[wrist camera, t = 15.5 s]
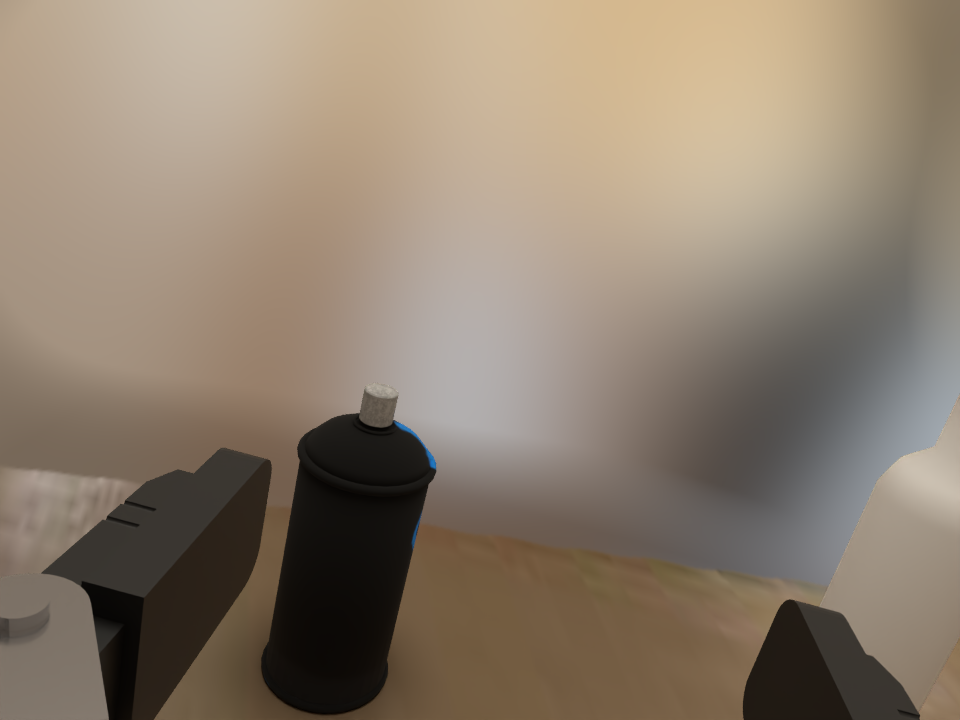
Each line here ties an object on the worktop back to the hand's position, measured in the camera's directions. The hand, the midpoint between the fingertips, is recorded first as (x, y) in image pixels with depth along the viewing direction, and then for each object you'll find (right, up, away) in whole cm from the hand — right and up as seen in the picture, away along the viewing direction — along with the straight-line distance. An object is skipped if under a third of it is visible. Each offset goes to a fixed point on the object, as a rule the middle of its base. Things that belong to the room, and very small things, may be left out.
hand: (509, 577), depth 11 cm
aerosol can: (-11, -17, +38) cm, 43 cm away
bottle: (+24, -24, +42) cm, 54 cm away
